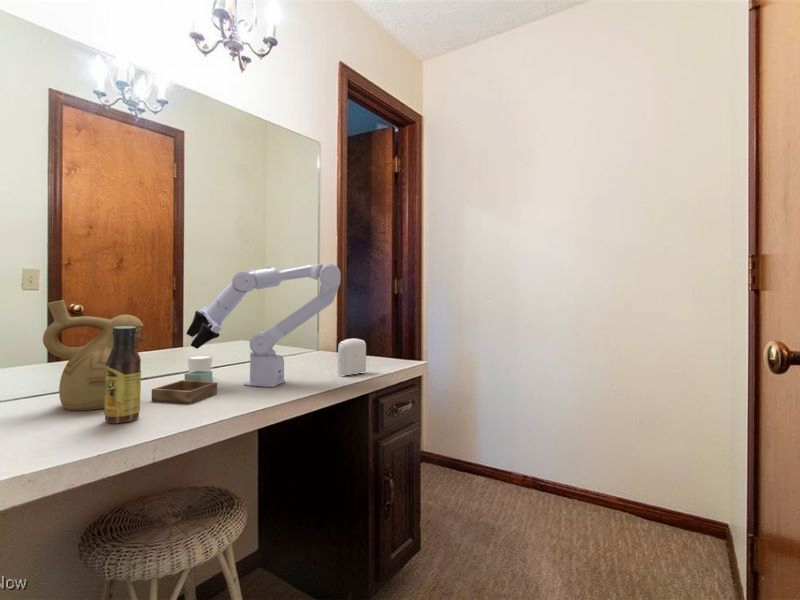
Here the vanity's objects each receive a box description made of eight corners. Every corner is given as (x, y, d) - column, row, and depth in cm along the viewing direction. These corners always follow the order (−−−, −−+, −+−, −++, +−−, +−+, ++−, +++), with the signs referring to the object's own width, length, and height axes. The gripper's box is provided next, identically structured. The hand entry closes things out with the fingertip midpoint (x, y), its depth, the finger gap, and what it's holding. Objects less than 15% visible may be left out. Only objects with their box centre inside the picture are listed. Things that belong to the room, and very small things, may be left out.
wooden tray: (217, 393, 107) (217, 382, 107) (189, 404, 96) (190, 392, 96) (181, 391, 109) (182, 380, 109) (151, 401, 98) (151, 389, 98)
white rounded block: (205, 382, 119) (205, 359, 119) (182, 381, 120) (182, 358, 119) (216, 377, 126) (216, 355, 126) (194, 377, 126) (195, 355, 126)
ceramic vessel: (151, 404, 95) (152, 301, 95) (41, 420, 82) (42, 300, 82) (139, 390, 108) (140, 299, 108) (43, 402, 95) (43, 298, 95)
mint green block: (212, 386, 114) (212, 371, 114) (200, 391, 109) (200, 374, 109) (196, 385, 115) (196, 370, 115) (184, 390, 110) (184, 373, 110)
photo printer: (342, 377, 130) (343, 340, 130) (335, 375, 133) (336, 338, 133) (367, 373, 137) (368, 338, 137) (360, 371, 140) (360, 337, 140)
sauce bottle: (101, 419, 84) (102, 326, 84) (136, 413, 88) (137, 324, 88) (107, 427, 79) (108, 328, 79) (143, 421, 84) (144, 327, 83)
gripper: (207, 289, 119) (175, 323, 118) (217, 307, 109) (183, 345, 107) (226, 301, 124) (196, 335, 123) (238, 320, 113) (205, 357, 112)
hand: (191, 340), depth 115 cm, fingers open, 7 cm apart
